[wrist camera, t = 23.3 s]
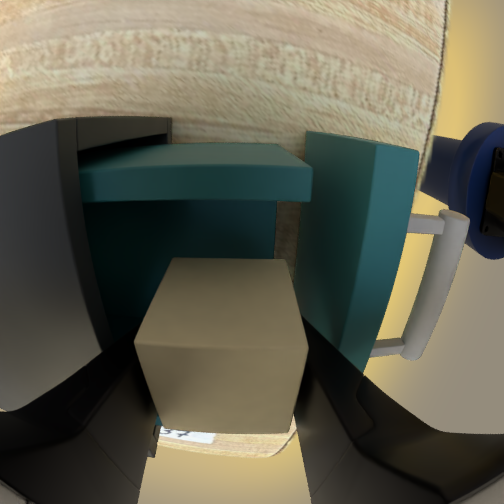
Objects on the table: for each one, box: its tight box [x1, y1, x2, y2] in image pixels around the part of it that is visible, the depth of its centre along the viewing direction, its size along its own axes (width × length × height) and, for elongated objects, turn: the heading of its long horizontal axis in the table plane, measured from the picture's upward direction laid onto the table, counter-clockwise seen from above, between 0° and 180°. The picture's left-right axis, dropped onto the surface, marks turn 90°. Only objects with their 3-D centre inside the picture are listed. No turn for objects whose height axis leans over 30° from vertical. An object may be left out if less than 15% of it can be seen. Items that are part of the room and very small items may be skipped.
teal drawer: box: [77, 131, 470, 426], centre depth 11 cm, size 18×11×8 cm, turn 88°
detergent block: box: [134, 257, 309, 434], centre depth 8 cm, size 4×4×4 cm
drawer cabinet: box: [0, 116, 172, 458], centre depth 11 cm, size 15×13×10 cm
